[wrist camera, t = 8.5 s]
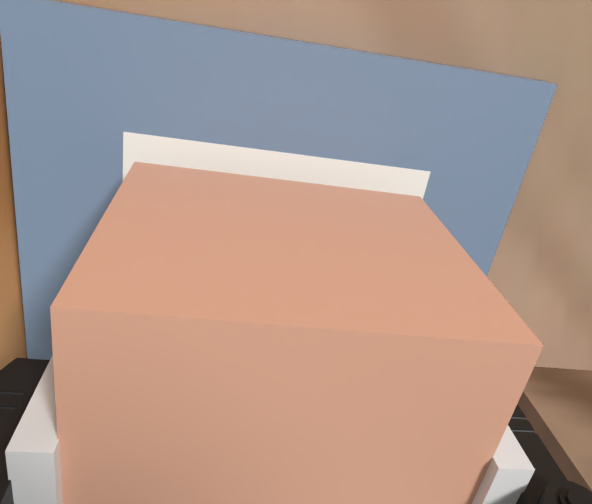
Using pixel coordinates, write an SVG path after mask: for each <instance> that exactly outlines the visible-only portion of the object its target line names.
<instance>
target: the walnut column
mask: <svg viewBox="0 0 592 504" xmlns="http://www.w3.org/2000/svg"><path fill="white" fill-rule="evenodd" d="M518 405H519V407H520V409H521V410H522V412H523V413H524V415H525V416H526V420H528V421H529V422H530V424H531V425H532V427H533V428H534V432H535V433H537V434H538V436H539V437H540V439H541V441H542V442H543V444H544V445H545V447H546V448H547V450H548V451H549V453H550V454H551V456H552V457H553V459H554V460H555V462H556V463H557V465H558V466H559V468H560V469H561V471H562V473H563V474H564V476H565V477H566V479H567V480H568V481H571V482H575V483H577V484H579V485H581V486H583V487H585V488H587V489H588V490H589V491H591V492H592V371H588V370H574V369H559V368H545V367H534V368H533V371H532V373H531V375H530V377H529V379H528V382H527V384H526V386H525V388H524V390H523V393H522V395H521V397H520V399H519V401H518Z"/></svg>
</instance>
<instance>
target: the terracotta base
mask: <svg viewBox="0 0 592 504" xmlns="http://www.w3.org/2000/svg"><path fill="white" fill-rule="evenodd" d="M50 314H51V332H52V350H53V367H54V385H55V403H56V421H57V438H58V439H59V447H60V465H61V484H62V502H63V504H472V502H473V500H474V497H475V495H476V493H477V491H478V489H479V486H480V484H481V482H482V480H483V478H484V475H485V473H486V471H487V469H488V467H489V465H490V462H491V460H492V458H493V456H494V454H495V452H496V450H497V447H498V445H499V443H500V441H501V439H502V436H503V434H504V432H505V430H506V428H507V425H508V423H509V421H510V419H511V417H512V415H513V412H514V410H515V408H516V406H517V404H518V401H519V399H520V397H521V395H522V393H523V390H524V388H525V386H526V384H527V382H528V379H529V377H530V375H531V373H532V371H533V368H534V366H535V364H536V362H537V360H538V358H539V355H540V353H541V351H542V349H543V347H544V345H543V344H542V343H541V342H540V341H539V339H538V338H537V337H536V336H535V335H534V333H533V332H532V331H531V330H530V329H529V327H528V326H527V325H526V324H525V322H524V321H523V320H522V319H521V318H520V316H519V315H518V314H517V313H516V312H515V310H514V309H513V308H512V307H511V306H510V304H509V303H508V302H507V301H506V300H505V298H504V297H503V296H502V295H501V294H500V292H499V291H498V290H497V289H496V287H495V286H494V285H493V284H492V283H491V281H490V280H489V279H488V278H487V277H486V275H485V274H484V273H483V272H482V271H481V269H480V268H479V267H478V266H477V265H476V263H475V262H474V261H473V260H472V259H471V257H470V256H469V255H468V254H467V252H466V251H465V250H464V249H463V248H462V246H461V245H460V244H459V243H458V242H457V240H456V239H455V238H454V237H453V236H452V234H451V233H450V232H449V231H448V230H447V228H446V227H445V226H444V225H443V224H442V222H441V221H440V220H439V219H438V217H437V216H436V215H435V214H434V213H433V211H432V210H431V209H430V208H429V207H428V205H427V204H426V203H425V202H424V201H423V199H422V198H421V197H420V196H412V195H404V194H396V193H388V192H380V191H372V190H363V189H355V188H347V187H339V186H331V185H322V184H314V183H306V182H298V181H290V180H282V179H273V178H265V177H257V176H249V175H241V174H232V173H224V172H216V171H208V170H200V169H191V168H183V167H175V166H167V165H159V164H151V163H142V162H134V163H133V165H132V167H131V168H130V170H129V172H128V173H127V175H126V177H125V179H124V180H123V182H122V184H121V186H120V187H119V189H118V191H117V192H116V194H115V196H114V198H113V199H112V201H111V203H110V205H109V206H108V208H107V210H106V211H105V213H104V215H103V217H102V218H101V220H100V222H99V224H98V225H97V227H96V229H95V230H94V232H93V234H92V236H91V237H90V239H89V241H88V243H87V244H86V246H85V248H84V249H83V251H82V253H81V255H80V256H79V258H78V260H77V262H76V263H75V265H74V267H73V268H72V270H71V272H70V274H69V275H68V277H67V279H66V281H65V282H64V284H63V286H62V287H61V289H60V291H59V293H58V294H57V296H56V298H55V300H54V301H53V303H52V305H51V306H50Z"/></svg>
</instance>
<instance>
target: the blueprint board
mask: <svg viewBox="0 0 592 504" xmlns="http://www.w3.org/2000/svg"><path fill="white" fill-rule="evenodd" d="M0 34H1V46H2V58H3V70H4V82H5V94H6V106H7V118H8V130H9V142H10V154H11V166H12V178H13V190H14V202H15V214H16V226H17V238H18V250H19V262H20V274H21V286H22V298H23V310H24V322H25V334H26V346H27V358H28V359H42V360H50V359H51V357H52V355H53V350H52V332H51V314H50V306H51V305H52V303H53V301H54V300H55V298H56V296H57V294H58V293H59V291H60V289H61V287H62V286H63V284H64V282H65V281H66V279H67V277H68V275H69V274H70V272H71V270H72V268H73V267H74V265H75V263H76V262H77V260H78V258H79V256H80V255H81V253H82V251H83V249H84V248H85V246H86V244H87V243H88V241H89V239H90V237H91V236H92V234H93V232H94V230H95V229H96V227H97V225H98V224H99V222H100V220H101V218H102V217H103V215H104V213H105V211H106V210H107V208H108V206H109V205H110V203H111V201H112V199H113V198H114V196H115V194H116V192H117V191H118V189H119V187H120V186H121V184H122V182H123V180H124V179H125V177H126V175H127V173H128V172H129V170H130V168H131V167H132V165H133V163H134V162H142V163H151V164H159V165H167V166H175V167H183V168H191V169H200V170H208V171H216V172H224V173H232V174H241V175H249V176H257V177H265V178H273V179H282V180H290V181H298V182H306V183H314V184H322V185H331V186H339V187H347V188H355V189H363V190H372V191H380V192H388V193H396V194H404V195H412V196H420V197H421V198H422V199H423V201H424V202H425V203H426V204H427V205H428V207H429V208H430V209H431V210H432V211H433V213H434V214H435V215H436V216H437V217H438V219H439V220H440V221H441V222H442V224H443V225H444V226H445V227H446V228H447V230H448V231H449V232H450V233H451V234H452V236H453V237H454V238H455V239H456V240H457V242H458V243H459V244H460V245H461V246H462V248H463V249H464V250H465V251H466V252H467V254H468V255H469V256H470V257H471V259H472V260H473V261H474V262H475V263H476V265H477V266H478V267H479V268H480V269H481V271H482V272H483V273H484V274H485V275H486V277H487V274H488V272H489V269H490V266H491V263H492V261H493V258H494V255H495V253H496V250H497V247H498V244H499V242H500V239H501V236H502V234H503V231H504V228H505V226H506V223H507V220H508V217H509V215H510V212H511V209H512V207H513V204H514V201H515V199H516V196H517V193H518V190H519V188H520V185H521V182H522V180H523V177H524V174H525V171H526V169H527V166H528V163H529V161H530V158H531V155H532V153H533V150H534V147H535V144H536V142H537V139H538V136H539V134H540V131H541V128H542V125H543V123H544V120H545V117H546V115H547V112H548V109H549V107H550V104H551V101H552V98H553V96H554V93H555V90H556V88H557V85H556V84H553V83H550V82H547V81H541V80H535V79H529V78H523V77H517V76H511V75H505V74H498V73H492V72H486V71H480V70H474V69H468V68H462V67H456V66H450V65H444V64H438V63H432V62H426V61H419V60H413V59H407V58H401V57H395V56H389V55H383V54H377V53H371V52H365V51H359V50H353V49H346V48H340V47H334V46H328V45H322V44H316V43H310V42H304V41H298V40H292V39H286V38H280V37H274V36H267V35H261V34H255V33H249V32H243V31H237V30H231V29H225V28H219V27H213V26H207V25H201V24H195V23H188V22H182V21H176V20H170V19H164V18H158V17H152V16H146V15H140V14H134V13H128V12H122V11H115V10H109V9H103V8H97V7H91V6H85V5H79V4H73V3H67V2H61V1H55V0H0Z"/></svg>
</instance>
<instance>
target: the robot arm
mask: <svg viewBox="0 0 592 504" xmlns="http://www.w3.org/2000/svg"><path fill="white" fill-rule="evenodd" d="M0 504H63V502H62V484H61V465H60V447H59V439H58V438H57V421H56V403H55V385H54V367H53V355H52V357H51V359H50V360H42V359H26V358H16V359H15V360H13V361H12V362H11V363H9V364H8V365H7V366H6V367H4V368H3V369H2V370H0ZM472 504H592V492H591V491H589V490H588V489H587V488H585V487H583V486H581V485H579V484H577V483H575V482H571V481H568V480H567V479H566V477H565V476H564V474H563V473H562V471H561V469H560V468H559V466H558V465H557V463H556V462H555V460H554V459H553V457H552V456H551V454H550V453H549V451H548V450H547V448H546V447H545V445H544V444H543V442H542V441H541V439H540V437H539V436H538V434H537V433H535V432H534V428H533V427H532V425H531V424H530V422H529V421H528V420H526V416H525V415H524V413H523V412H522V410H521V409H520V407H519V405H518V404H517V406H516V408H515V410H514V412H513V415H512V417H511V419H510V421H509V423H508V425H507V428H506V430H505V432H504V434H503V436H502V439H501V441H500V443H499V445H498V447H497V450H496V452H495V454H494V456H493V458H492V460H491V462H490V465H489V467H488V469H487V471H486V473H485V475H484V478H483V480H482V482H481V484H480V486H479V489H478V491H477V493H476V495H475V497H474V500H473V502H472Z"/></svg>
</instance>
